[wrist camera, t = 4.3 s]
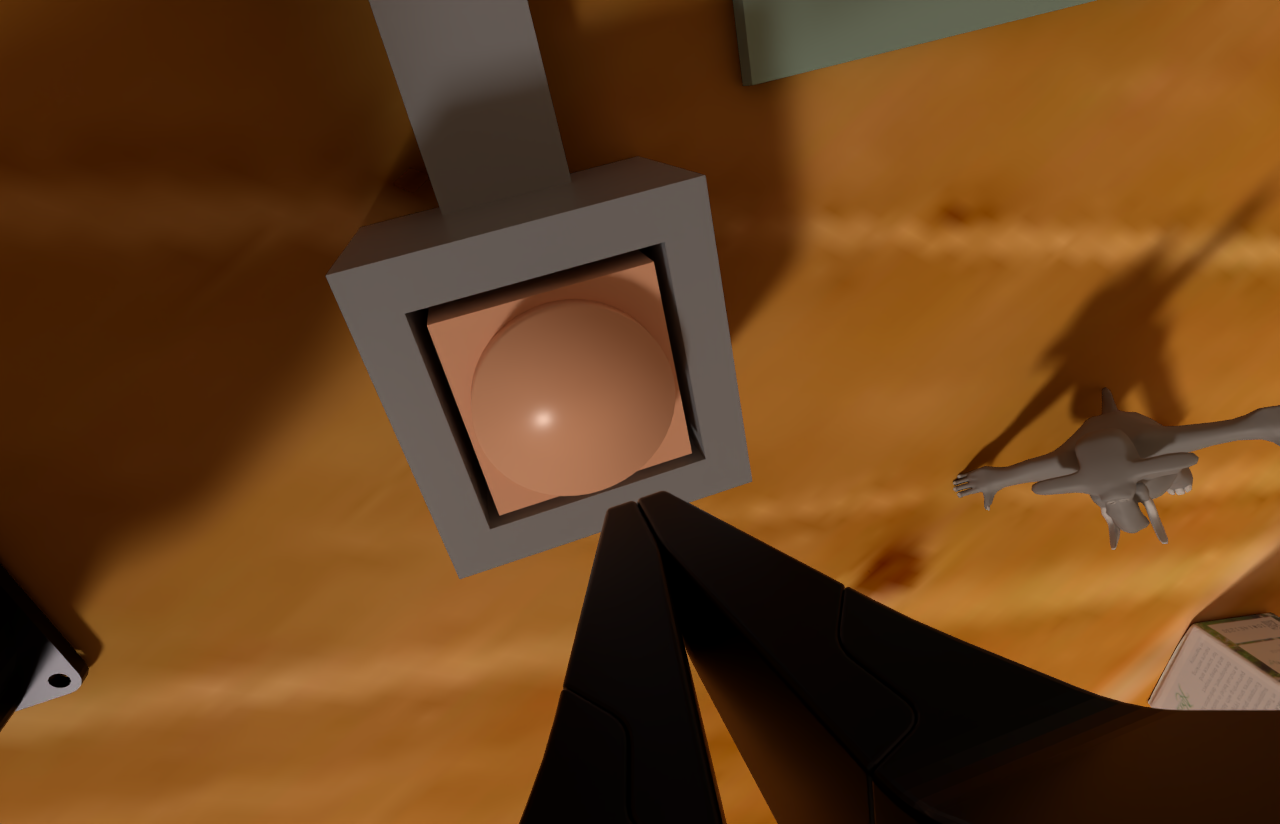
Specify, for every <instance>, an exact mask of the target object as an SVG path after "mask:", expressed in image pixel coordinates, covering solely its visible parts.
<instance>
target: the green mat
mask: <svg viewBox="0 0 1280 824" xmlns="http://www.w3.org/2000/svg"><path fill="white" fill-rule="evenodd" d="M1091 1H1095V0H733V8H734V16H735V24H736V33H737V41H738V49H739V58H740V66H741V74H742V83H743V86H749V85H756V84H760V83H764V82H768V81H772V80H776V79H780V78H784V77H788V76H792V75H796V74H800V73H804V72H808V71H812V70H816V69H820V68H824V67H828V66H832V65H837V64H841V63H845V62H849V61H853V60H857V59H861V58H865V57H869V56H873V55H877V54H881V53H885V52H889V51H893V50H897V49H901V48H905V47H909V46H913V45H917V44H921V43H925V42H930V41H934V40H938V39H942V38H946V37H950V36H954V35H958V34H962V33H966V32H970V31H974V30H978V29H982V28H986V27H990V26H994V25H998V24H1002V23H1006V22H1010V21H1014V20H1019V19H1023V18H1027V17H1031V16H1035V15H1039V14H1043V13H1047V12H1051V11H1055V10H1059V9H1063V8H1067V7H1071V6H1075V5H1079V4H1083V3H1087V2H1091Z"/></svg>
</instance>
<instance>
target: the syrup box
mask: <svg viewBox="0 0 1280 824" xmlns="http://www.w3.org/2000/svg"><path fill="white" fill-rule="evenodd" d="M1148 704H1150V706H1151V707H1152V708H1159V709H1169V710H1280V617H1278V616H1276V615H1275V614H1273V613H1264V614H1257V615H1250V616H1244V617H1236V618H1228V619H1222V620H1215V621H1208V622H1201V623H1195V624H1193V625H1192V626H1191V627H1190V628H1189V629H1188V631H1187V632H1186V634H1185V635H1184V637H1183V638H1182V640H1181V641H1180V643H1179V644H1178V646H1177V648H1176V650H1175V651H1174V653H1173V655H1172V657H1171V659H1170V660H1169V662H1168V664H1167V666H1166V668H1165V670H1164V672H1163V674H1162V675H1161V678H1160V680H1159V681H1158V683H1157V685H1156V687H1155V689H1154V691H1153V693H1152V695H1151V698H1150V699H1149V701H1148Z"/></svg>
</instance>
